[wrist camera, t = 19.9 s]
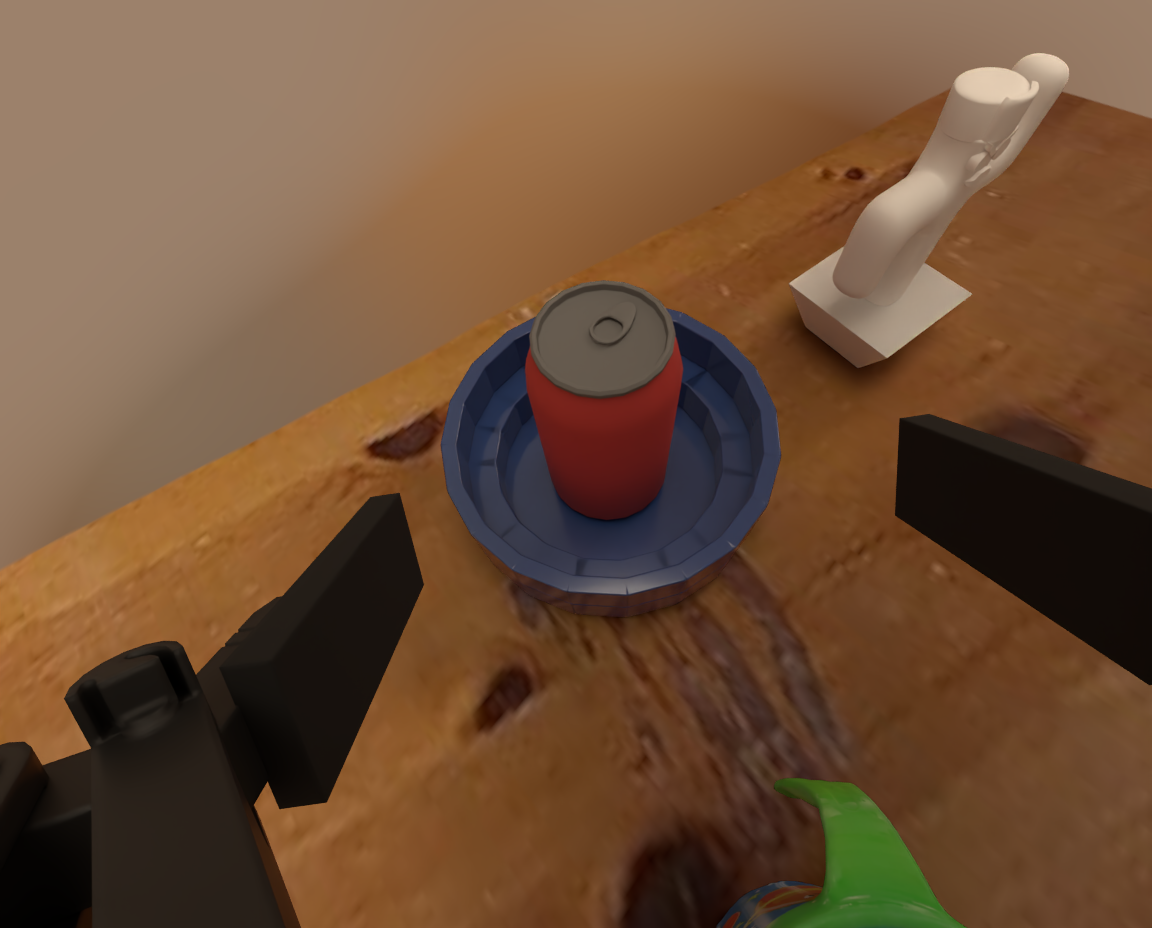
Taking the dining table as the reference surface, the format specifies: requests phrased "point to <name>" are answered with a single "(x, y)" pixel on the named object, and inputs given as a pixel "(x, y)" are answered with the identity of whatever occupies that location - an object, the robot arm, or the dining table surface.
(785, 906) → the snack cup
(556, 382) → the beer can
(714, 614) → the dining table surface
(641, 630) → the dining table surface
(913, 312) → the figurine
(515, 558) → the bowl
